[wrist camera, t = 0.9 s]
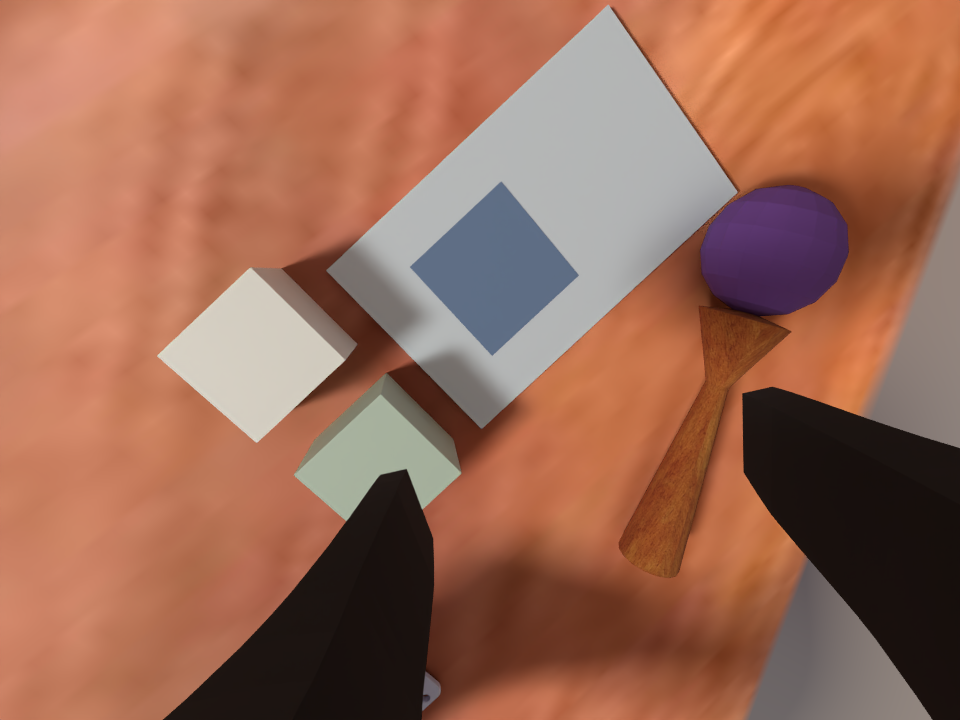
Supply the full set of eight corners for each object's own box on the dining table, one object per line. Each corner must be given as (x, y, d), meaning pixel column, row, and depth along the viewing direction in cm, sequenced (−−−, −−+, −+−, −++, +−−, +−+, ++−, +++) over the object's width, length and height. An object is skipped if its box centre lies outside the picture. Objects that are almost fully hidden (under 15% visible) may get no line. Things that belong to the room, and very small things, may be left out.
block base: (384, 501, 25) (378, 549, 21) (315, 438, 24) (293, 475, 20) (453, 438, 25) (461, 473, 21) (386, 372, 24) (380, 394, 20)
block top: (285, 411, 24) (256, 443, 20) (206, 339, 23) (157, 355, 18) (358, 343, 24) (345, 360, 19) (282, 268, 23) (250, 267, 18)
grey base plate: (480, 426, 25) (481, 429, 25) (327, 270, 23) (326, 270, 22) (732, 193, 25) (738, 192, 25) (604, 9, 22) (608, 4, 22)
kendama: (606, 576, 23) (766, 158, 19) (587, 513, 29) (707, 181, 25) (723, 610, 23) (910, 198, 19) (681, 540, 29) (817, 212, 25)
